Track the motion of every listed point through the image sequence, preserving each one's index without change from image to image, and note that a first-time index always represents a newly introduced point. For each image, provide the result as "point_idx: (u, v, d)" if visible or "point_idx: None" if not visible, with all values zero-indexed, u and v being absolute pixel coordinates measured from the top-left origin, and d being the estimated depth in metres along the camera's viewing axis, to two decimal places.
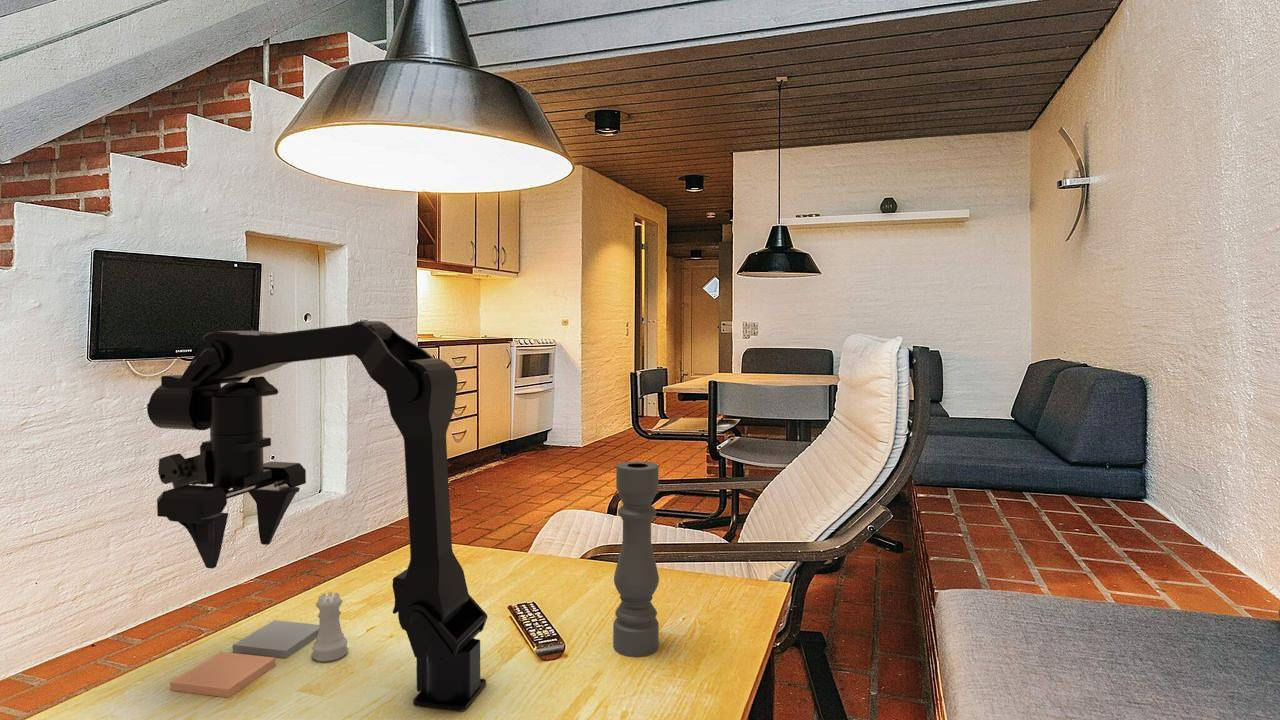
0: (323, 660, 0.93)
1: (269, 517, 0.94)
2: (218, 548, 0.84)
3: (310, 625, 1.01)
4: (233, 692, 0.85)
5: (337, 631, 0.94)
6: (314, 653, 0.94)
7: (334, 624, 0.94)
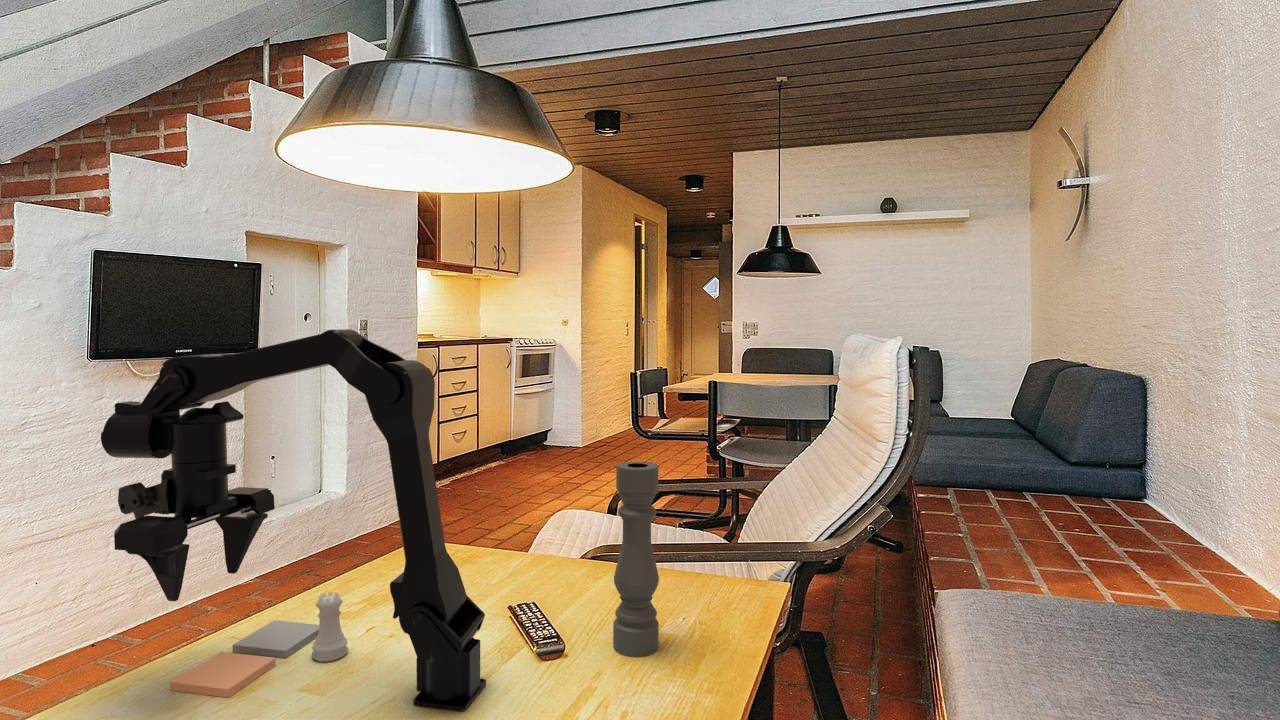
0: (323, 660, 0.93)
1: (236, 545, 0.91)
2: (180, 580, 0.82)
3: (310, 625, 1.01)
4: (233, 692, 0.85)
5: (337, 631, 0.94)
6: (314, 653, 0.94)
7: (334, 624, 0.94)
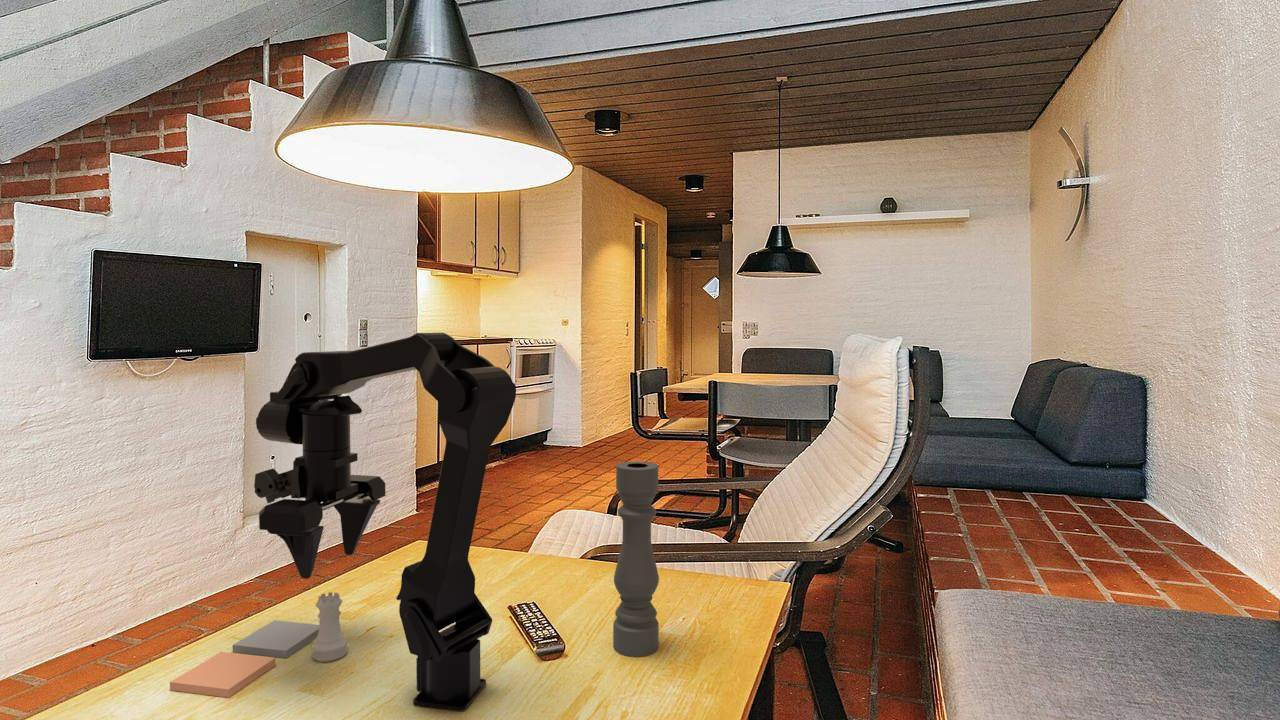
0: (323, 660, 0.93)
1: (353, 528, 0.98)
2: (313, 559, 0.89)
3: (310, 625, 1.01)
4: (233, 692, 0.85)
5: (337, 631, 0.94)
6: (314, 653, 0.94)
7: (334, 624, 0.94)
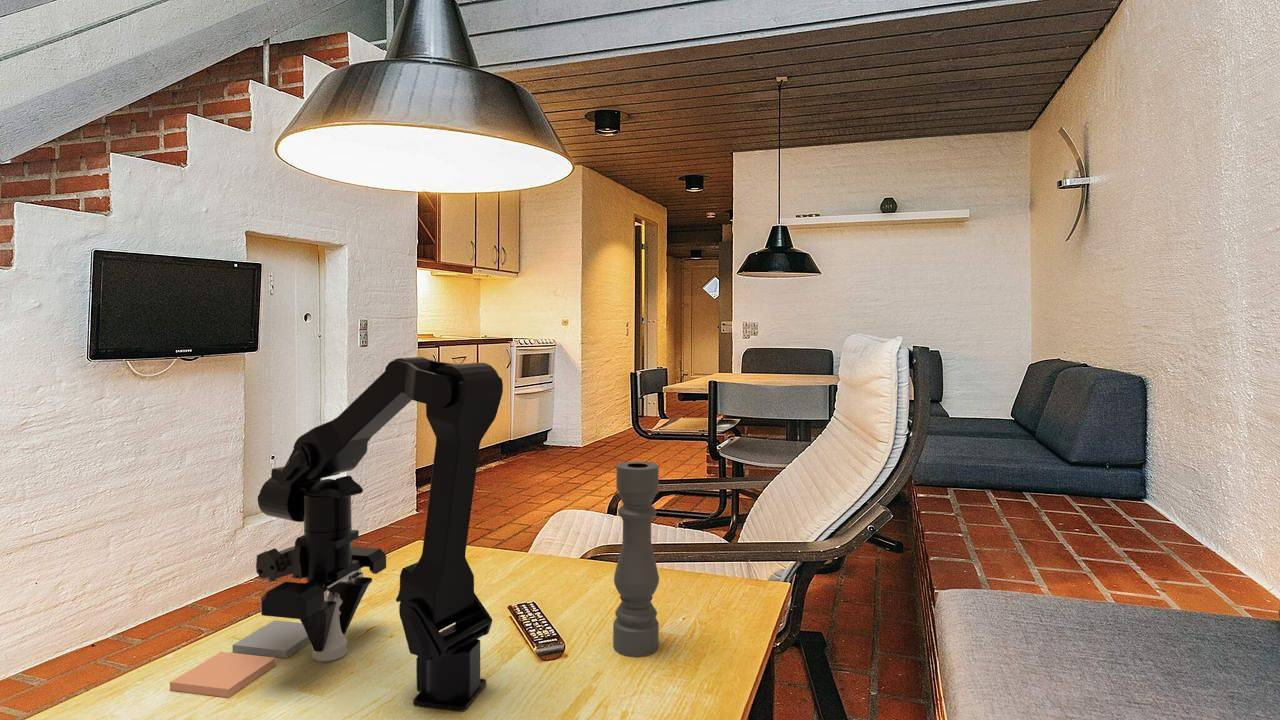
0: (323, 660, 0.93)
1: (344, 609, 0.97)
2: (326, 633, 0.91)
3: None
4: (233, 692, 0.85)
5: (337, 631, 0.94)
6: (314, 653, 0.94)
7: (334, 624, 0.94)
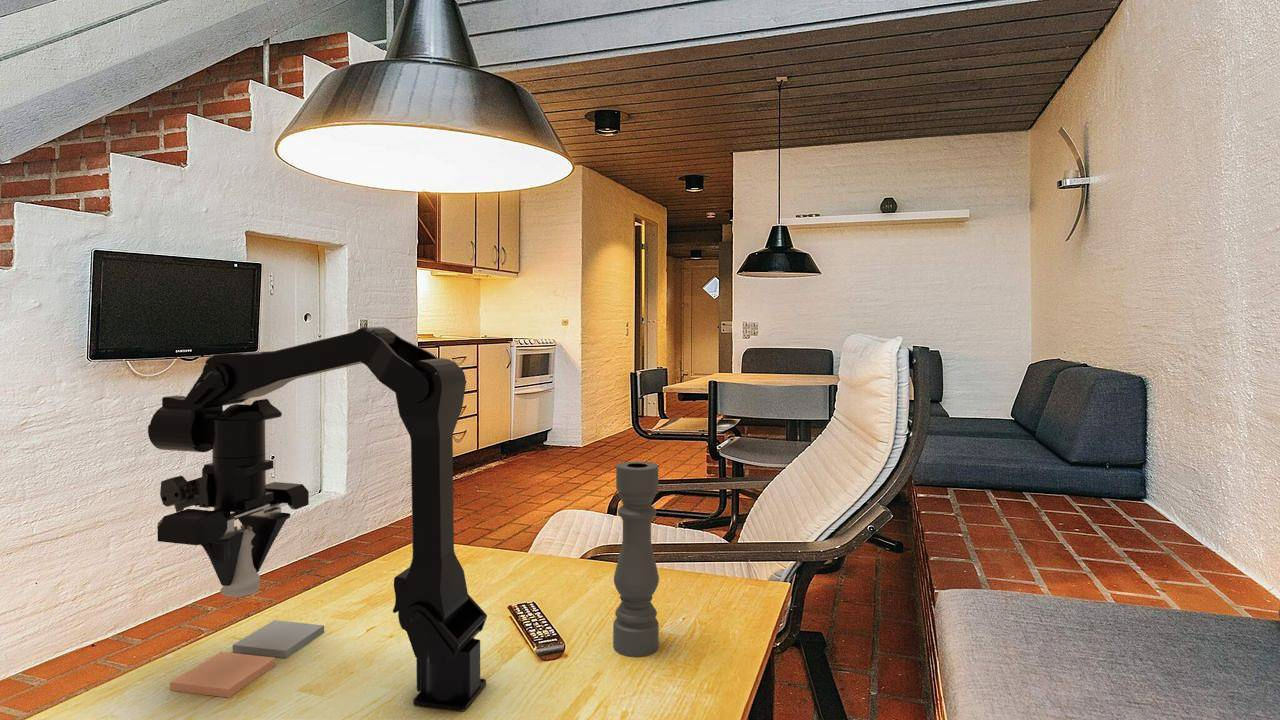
0: (231, 595, 0.87)
1: (258, 544, 0.91)
2: (233, 566, 0.86)
3: (310, 625, 1.01)
4: (233, 692, 0.85)
5: (248, 566, 0.89)
6: (223, 588, 0.88)
7: (245, 558, 0.88)
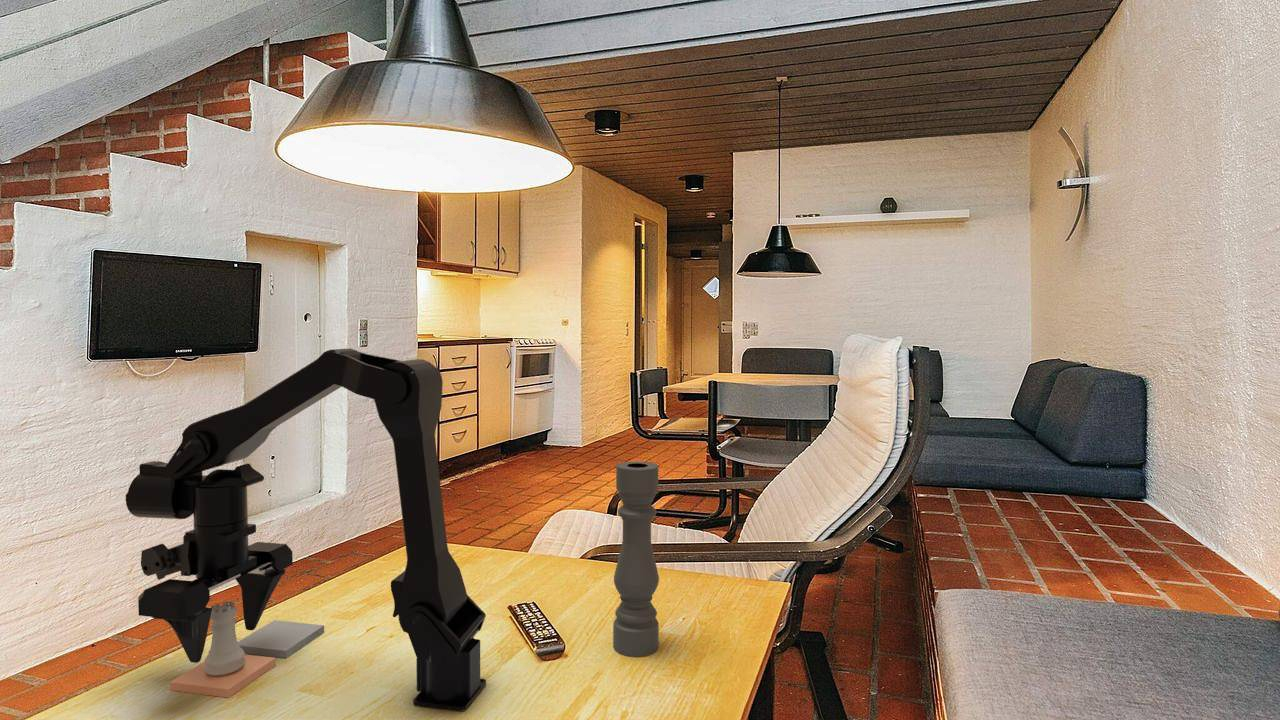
0: (215, 674, 0.87)
1: (254, 602, 0.92)
2: (202, 643, 0.83)
3: (310, 625, 1.01)
4: (233, 692, 0.85)
5: (231, 643, 0.88)
6: (207, 667, 0.87)
7: (228, 635, 0.88)
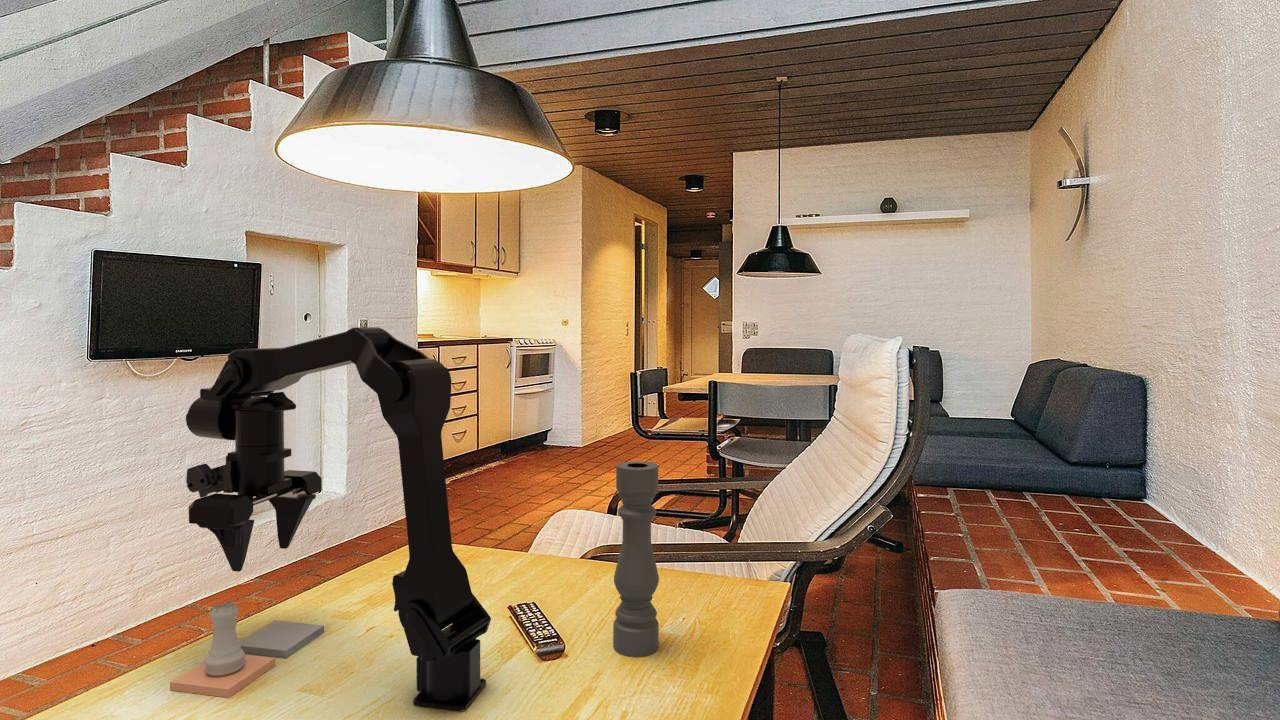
0: (216, 674, 0.87)
1: (288, 523, 1.00)
2: (244, 552, 0.90)
3: (310, 625, 1.01)
4: (233, 692, 0.85)
5: (232, 643, 0.88)
6: (207, 667, 0.87)
7: (229, 636, 0.88)
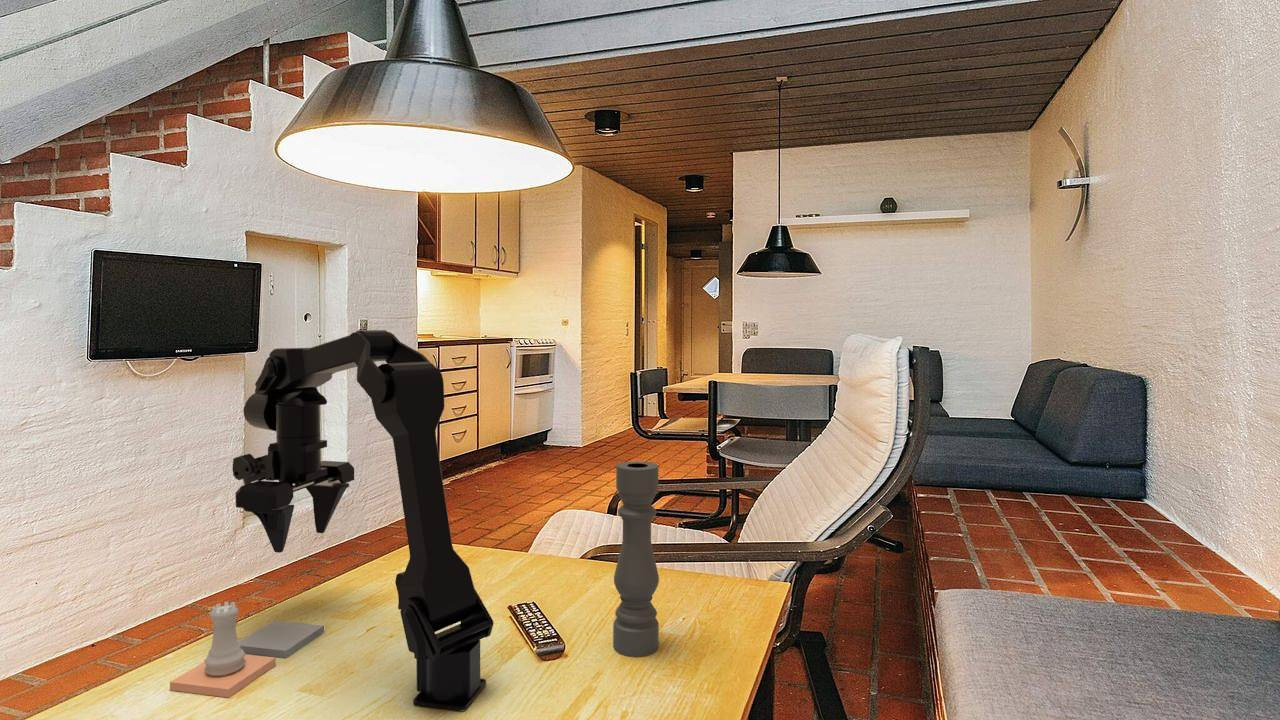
0: (216, 674, 0.87)
1: (324, 509, 1.08)
2: (285, 535, 0.98)
3: (310, 625, 1.01)
4: (233, 692, 0.85)
5: (232, 643, 0.88)
6: (207, 667, 0.87)
7: (229, 636, 0.88)
